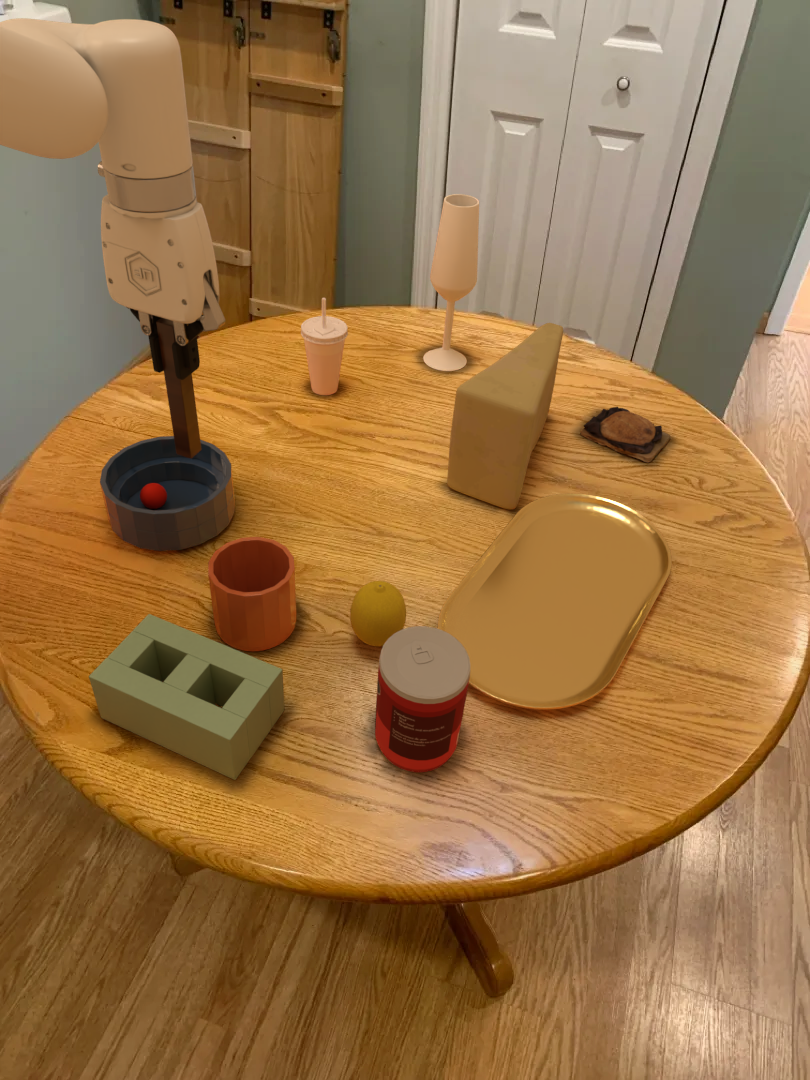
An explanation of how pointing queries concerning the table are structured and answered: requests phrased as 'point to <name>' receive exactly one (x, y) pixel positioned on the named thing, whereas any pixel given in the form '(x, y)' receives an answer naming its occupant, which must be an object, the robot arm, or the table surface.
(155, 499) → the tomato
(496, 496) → the cheese
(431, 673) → the canned food
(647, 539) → the serving platter
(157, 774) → the table surface
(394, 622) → the lemon
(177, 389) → the stick
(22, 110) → the robot arm
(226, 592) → the crock
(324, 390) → the smoothie
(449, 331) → the champagne flute
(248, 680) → the cinder block
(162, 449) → the bowl
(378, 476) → the table surface
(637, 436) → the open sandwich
